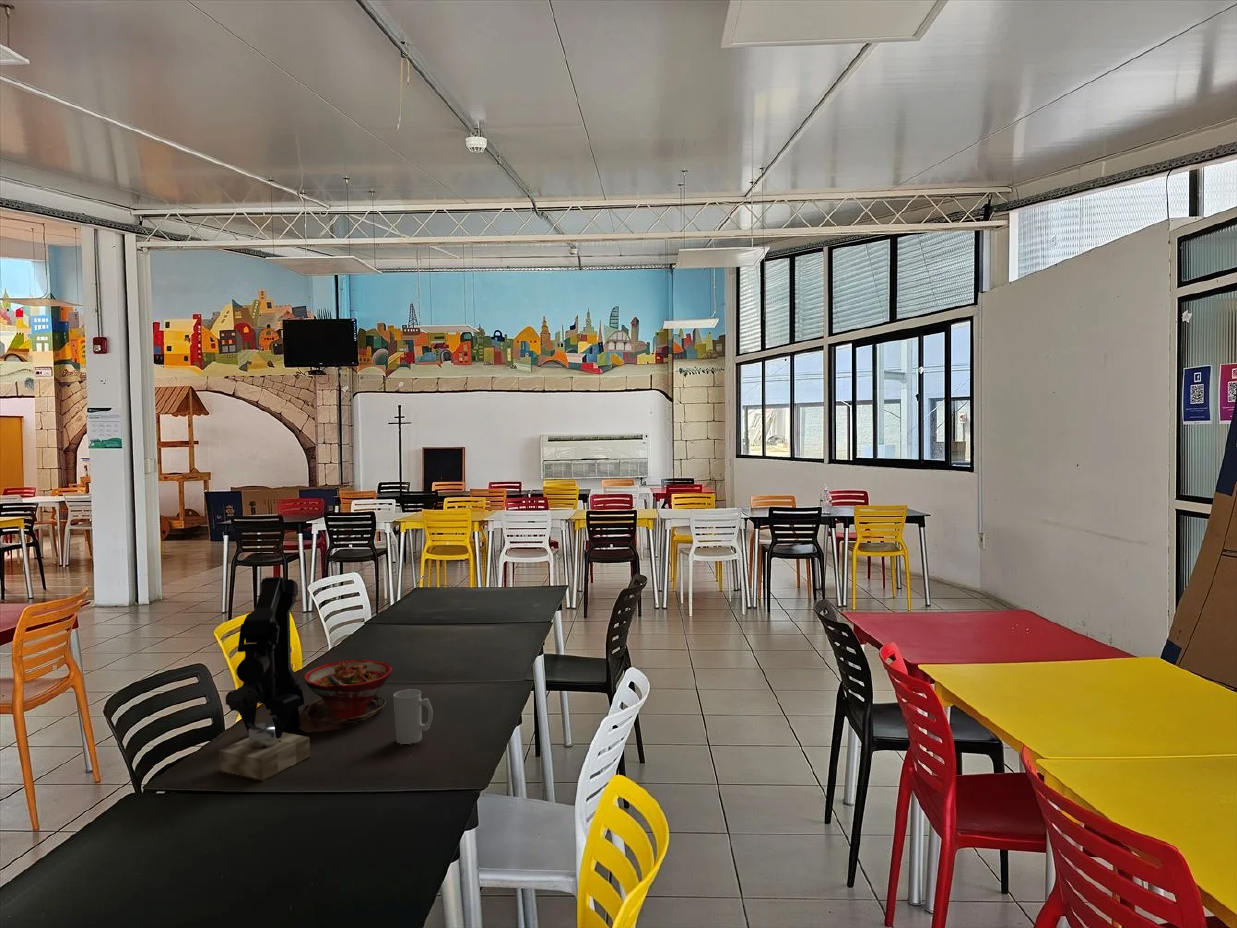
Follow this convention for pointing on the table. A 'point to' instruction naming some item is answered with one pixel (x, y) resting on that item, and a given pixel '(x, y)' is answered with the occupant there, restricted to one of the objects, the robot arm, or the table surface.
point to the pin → (262, 736)
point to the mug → (410, 716)
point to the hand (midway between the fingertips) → (264, 735)
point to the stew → (343, 693)
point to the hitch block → (264, 756)
